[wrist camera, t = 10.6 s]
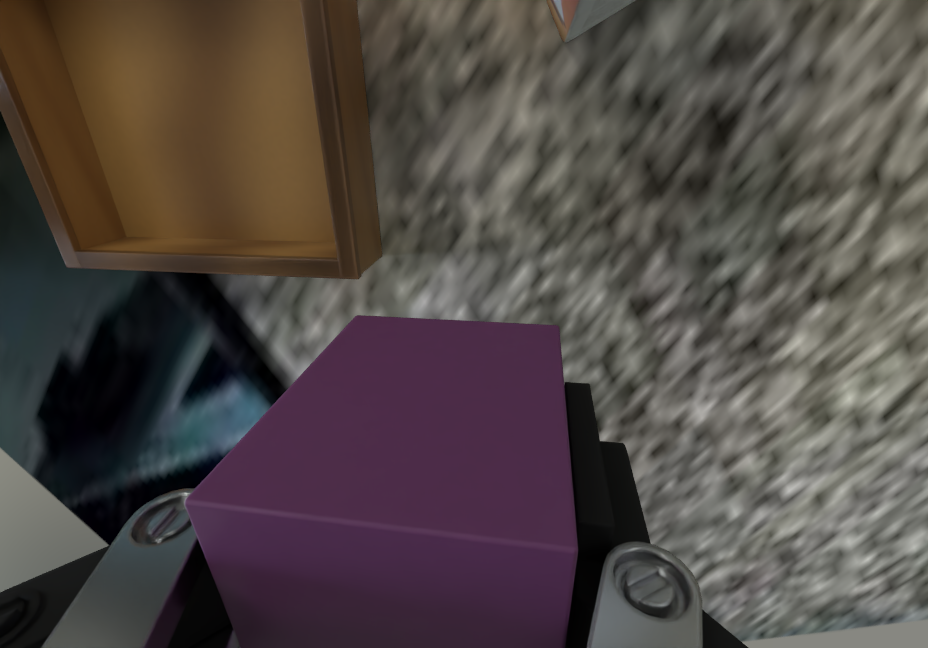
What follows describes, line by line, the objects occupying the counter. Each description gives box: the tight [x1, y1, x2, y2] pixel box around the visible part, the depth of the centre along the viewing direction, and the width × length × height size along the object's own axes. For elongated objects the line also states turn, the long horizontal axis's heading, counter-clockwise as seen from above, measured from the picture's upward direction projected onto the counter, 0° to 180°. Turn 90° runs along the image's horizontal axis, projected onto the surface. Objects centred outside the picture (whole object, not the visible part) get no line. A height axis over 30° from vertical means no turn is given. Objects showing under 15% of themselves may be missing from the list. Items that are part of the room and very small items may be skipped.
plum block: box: [184, 315, 578, 648], centre depth 9 cm, size 5×5×6 cm
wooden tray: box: [0, 0, 382, 279], centre depth 20 cm, size 16×14×4 cm
